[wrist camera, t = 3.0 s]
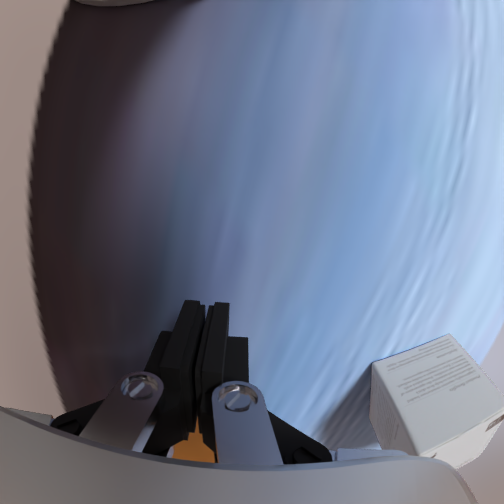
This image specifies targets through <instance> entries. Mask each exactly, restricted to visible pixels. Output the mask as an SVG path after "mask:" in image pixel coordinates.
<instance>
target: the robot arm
mask: <svg viewBox="0 0 504 504" xmlns="http://www.w3.org/2000/svg"><path fill="white" fill-rule="evenodd" d="M75 1H77V2H79V3H82V4H88V5H94V6H123V5H129V4H137V3H144V2H148V1H153V0H75ZM228 330H229V303H222V302H215V304H214V306H211V305H209V308H208V312H207V317H206V321H205V305H200V301H194V300H185V301H184V304H183V306H182V309H181V311H180V314H179V316H178V319H177V322H176V324H175V327H174V329H173V332H170V331H161V333H160V335H159V337H158V339H157V342H156V344H155V346H154V349H153V351H152V353H151V356H150V358H149V360H148V363H147V365H146V367H145V370H144V372H143V371H139V372H132V373H128V374H127V375H125V376H123V377H122V378H121V379H120V380H119V381H118V382H117V383H116V385H115V386H114V388H113V389H112V390H111V392H110V393H109V394H108V396H107V397H106V399H104V400H101V401H98V402H96V403H93V404H90V405H88V406H85V407H82V408H79V409H76V410H74V411H71V412H68V413H65V414H62V415H60V416H58V417H57V418H56V419H54V418H53V416H52V415H46V414H40V413H34V412H28V411H23V410H17V409H12V408H4V407H1V406H0V504H478V502H477V500H476V498H475V496H474V494H473V493H472V491H471V489H470V488H469V487H468V485H467V483H466V482H465V480H464V479H463V477H462V476H461V475H460V473H459V472H458V471H457V470H456V469H455V468H454V467H453V466H451V465H450V464H448V463H447V462H444V461H442V460H439V459H435V458H430V457H422V456H409V455H408V454H407V453H405V452H403V451H400V450H371V449H347V448H338V449H337V451H331V450H328V449H327V448H326V447H325V446H323V445H322V444H320V443H319V442H317V441H315V440H313V439H312V438H310V437H308V436H307V435H305V434H304V433H302V432H300V431H299V430H297V429H295V428H294V427H292V426H291V425H289V424H288V423H286V422H284V421H283V420H281V419H280V418H278V417H277V416H275V415H274V414H272V413H271V412H269V411H268V410H267V408H266V404H265V401H264V397H263V395H262V393H261V391H260V390H259V389H258V388H257V387H256V386H254V385H252V384H250V383H249V367H248V337H230V336H228ZM197 416H198V426H199V433H200V434H202V438H203V443H204V444H205V445H206V446H207V447H208V448H210V449H211V450H212V451H213V452H214V462H215V463H210V462H199V461H190V460H182V459H175V458H172V456H173V453H174V450H175V444H177V443H179V442H181V441H183V440H186V441H188V437H189V432H190V433H195V429H196V422H197Z"/></svg>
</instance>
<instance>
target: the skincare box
mask: <svg viewBox="0 0 504 504" xmlns="http://www.w3.org/2000/svg"><path fill="white" fill-rule="evenodd" d="M369 419H370V422H371V424H372V426H373V429H374V431H375V434H376V436H377V439H378V441H379V444H380V446H381V449H382V450H400V451H403V452H405V453H407V454H408V455H409V456H422V457H430V458H435V459H439V460H442V461H444V462H447V463H448V464H450V465H451V466H453V467H454V468H455V469H458V468H460V467H462V466H464V465H465V464H467V463H469V462H471V461H472V460H474V459H476V458H477V457H478V456H480V454H481V453H482V452H483V451H484V449H485V448H486V446H487V445H488V443H489V441H490V440H491V438H492V437H493V435H494V433H495V432H496V430H497V429H498V427H499V425H500V424H501V422H502V421H503V419H504V395H503V394H502V393H501V391H500V390H499V389H498V388H497V386H496V385H495V384H494V383H493V382H492V380H491V379H490V378H489V377H488V376H487V374H486V373H485V372H484V371H483V370H482V369H481V367H480V366H479V365H478V364H477V363H476V362H475V361H474V359H473V358H472V357H471V356H470V355H469V354H468V353H467V352H466V350H465V349H464V348H463V347H462V346H461V345H460V344H459V343H458V342H457V341H456V340H455V338H454V337H453V336H452V335H451V334H447V335H445V336H442V337H440V338H438V339H435V340H433V341H431V342H428V343H426V344H423V345H421V346H418V347H416V348H413V349H410V350H408V351H405V352H402V353H400V354H397V355H394V356H391V357H388V358H385V359H382V360H379V361H376V362H373V363H372V374H371V395H370V409H369Z"/></svg>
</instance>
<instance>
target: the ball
mask: <svg viewBox="0 0 504 504" xmlns="http://www.w3.org/2000/svg"><path fill="white" fill-rule="evenodd" d="M172 458H175V459H182V460H190V461H199V462H210V463H215V462H214V452H213V451H212V450H211V449H210V448H208V447H207V446H206V445H205V444H204V443H203V438H202V434H200V433H199V426H198V416H197V422H196V429H195V433H190V432H189V437H188V441H186V440H183V441H181V442H179V443H177V444H175V450H174V453H173V456H172Z"/></svg>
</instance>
